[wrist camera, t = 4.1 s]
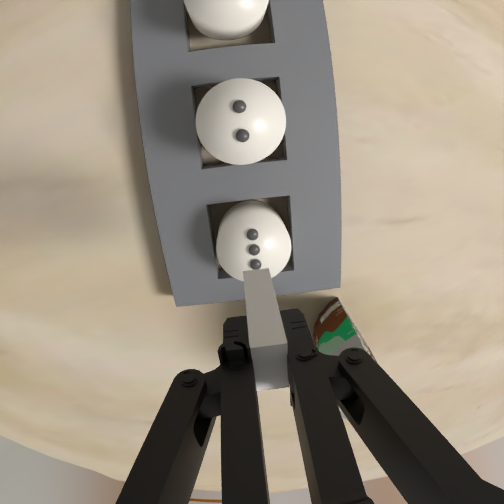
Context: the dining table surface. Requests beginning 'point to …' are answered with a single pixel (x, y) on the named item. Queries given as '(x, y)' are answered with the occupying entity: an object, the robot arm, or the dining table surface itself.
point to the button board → (230, 175)
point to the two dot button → (240, 121)
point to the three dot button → (252, 239)
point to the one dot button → (226, 17)
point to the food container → (337, 332)
